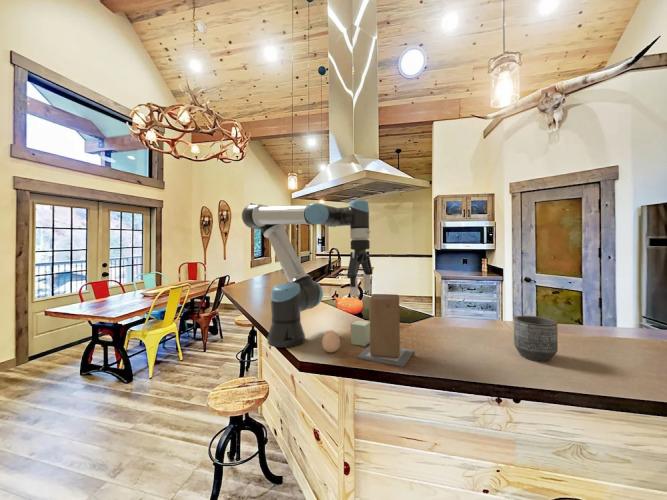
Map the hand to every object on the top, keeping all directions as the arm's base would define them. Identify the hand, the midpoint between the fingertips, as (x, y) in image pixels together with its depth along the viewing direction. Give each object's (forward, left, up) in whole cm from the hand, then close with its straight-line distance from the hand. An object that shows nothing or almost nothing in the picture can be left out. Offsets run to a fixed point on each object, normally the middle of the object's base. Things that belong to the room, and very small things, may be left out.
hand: (361, 292), depth 112 cm
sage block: (0, 0, -20) cm, 20 cm away
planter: (+59, +13, -20) cm, 63 cm away
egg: (-6, -14, -20) cm, 25 cm away
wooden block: (+12, -8, -19) cm, 24 cm away
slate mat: (+13, -8, -20) cm, 25 cm away
